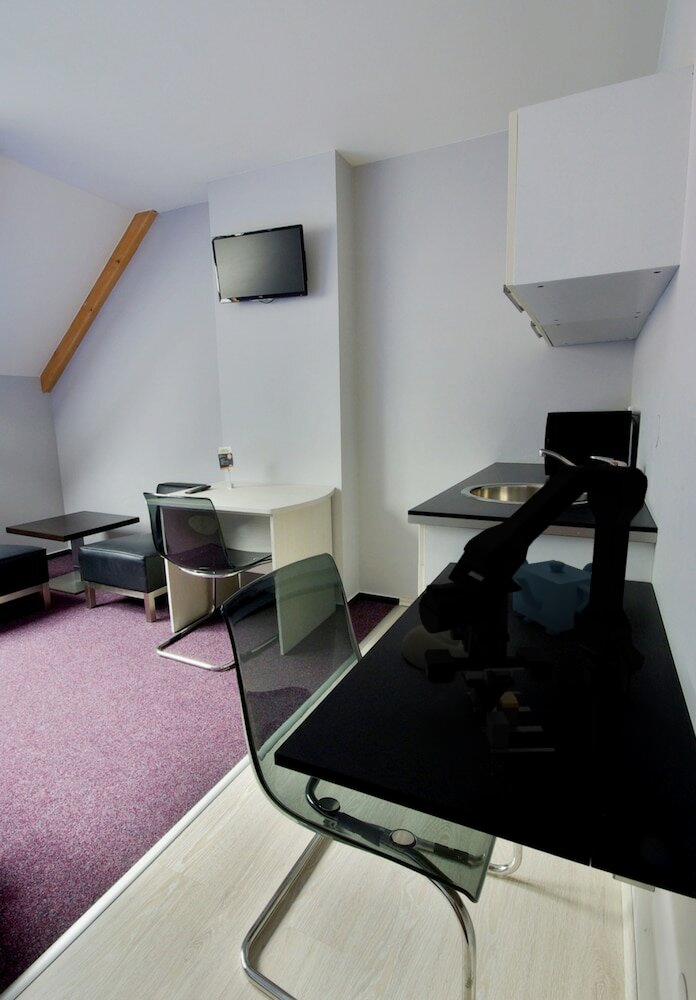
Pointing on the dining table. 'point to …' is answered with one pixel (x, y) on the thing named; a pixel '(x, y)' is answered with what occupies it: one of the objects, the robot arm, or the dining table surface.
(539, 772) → the dining table surface
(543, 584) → the teakettle
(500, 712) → the handle
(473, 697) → the handle
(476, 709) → the panel
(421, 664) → the seashell
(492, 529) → the robot arm
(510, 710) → the handle
